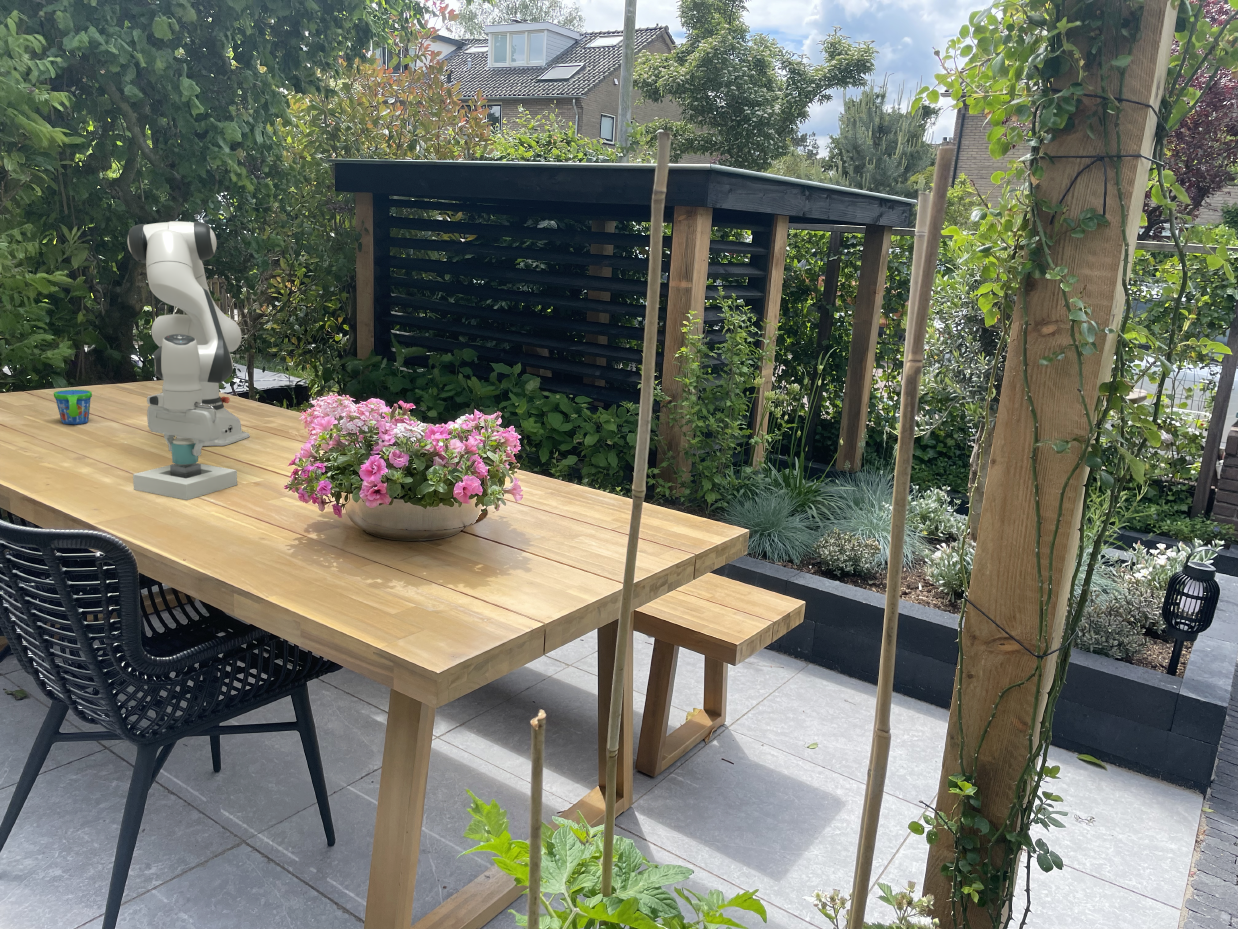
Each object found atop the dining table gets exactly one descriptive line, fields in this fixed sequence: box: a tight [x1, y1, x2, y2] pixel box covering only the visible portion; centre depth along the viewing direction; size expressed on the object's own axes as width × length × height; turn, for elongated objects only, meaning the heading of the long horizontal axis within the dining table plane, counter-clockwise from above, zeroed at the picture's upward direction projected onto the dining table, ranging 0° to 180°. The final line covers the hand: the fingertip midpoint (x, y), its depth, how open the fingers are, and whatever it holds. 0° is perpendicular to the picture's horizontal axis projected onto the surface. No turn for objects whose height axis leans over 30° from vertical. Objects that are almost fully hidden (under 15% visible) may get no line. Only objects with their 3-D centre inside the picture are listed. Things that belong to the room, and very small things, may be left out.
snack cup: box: [53, 389, 93, 425], centre depth 287 cm, size 16×10×10 cm
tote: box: [132, 462, 238, 501], centre depth 228 cm, size 17×17×4 cm
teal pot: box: [171, 438, 199, 464], centre depth 227 cm, size 6×6×6 cm
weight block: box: [169, 462, 202, 478], centre depth 228 cm, size 5×5×5 cm
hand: (185, 453), depth 227 cm, fingers closed on teal pot, 6 cm apart
